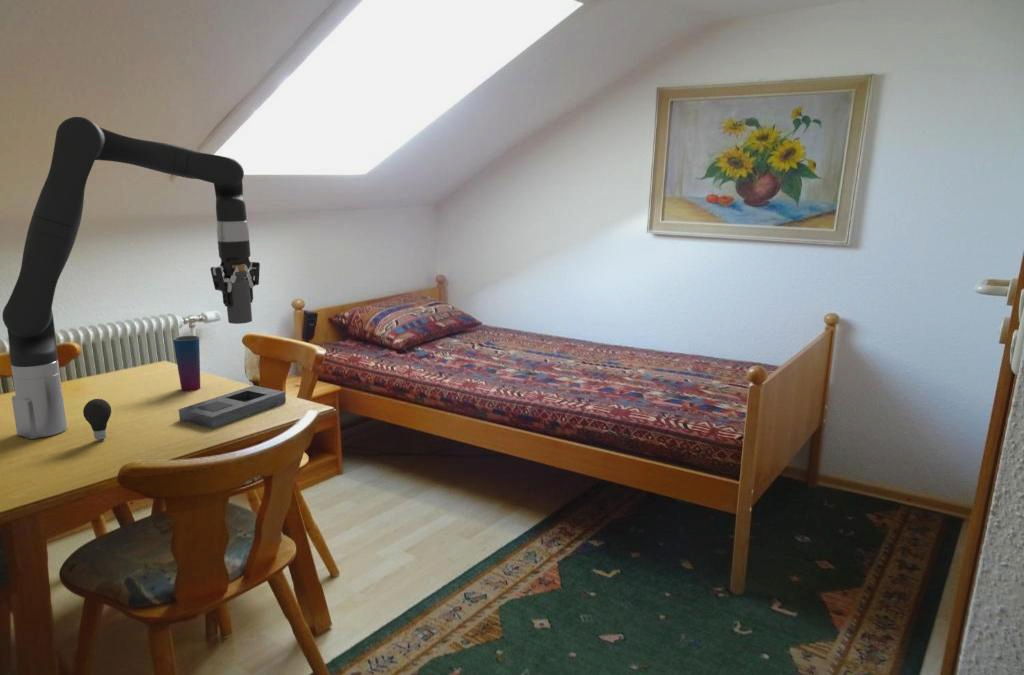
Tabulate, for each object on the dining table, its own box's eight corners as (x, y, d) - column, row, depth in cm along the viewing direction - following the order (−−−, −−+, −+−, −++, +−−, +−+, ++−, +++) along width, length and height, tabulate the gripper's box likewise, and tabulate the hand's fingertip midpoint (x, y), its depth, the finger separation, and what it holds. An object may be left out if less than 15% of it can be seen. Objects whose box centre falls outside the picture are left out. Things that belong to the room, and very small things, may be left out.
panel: (212, 428, 174) (211, 416, 174) (179, 420, 180) (178, 408, 179) (285, 402, 195) (285, 391, 195) (254, 395, 201) (253, 385, 200)
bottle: (223, 322, 185) (218, 264, 181) (241, 318, 190) (236, 262, 186) (239, 324, 182) (234, 266, 179) (257, 320, 187) (252, 263, 184)
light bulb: (108, 434, 170) (103, 394, 168) (118, 439, 167) (114, 398, 164) (82, 440, 166) (77, 399, 164) (92, 446, 162) (87, 404, 160)
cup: (172, 390, 205) (167, 339, 201) (189, 384, 211) (185, 334, 208) (192, 393, 203) (187, 341, 199) (208, 386, 209) (204, 336, 206)
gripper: (220, 242, 173) (226, 310, 177) (265, 237, 186) (270, 301, 189) (199, 240, 177) (205, 307, 180) (245, 236, 189) (250, 299, 193)
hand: (238, 304), depth 185 cm, fingers closed on bottle, 5 cm apart
